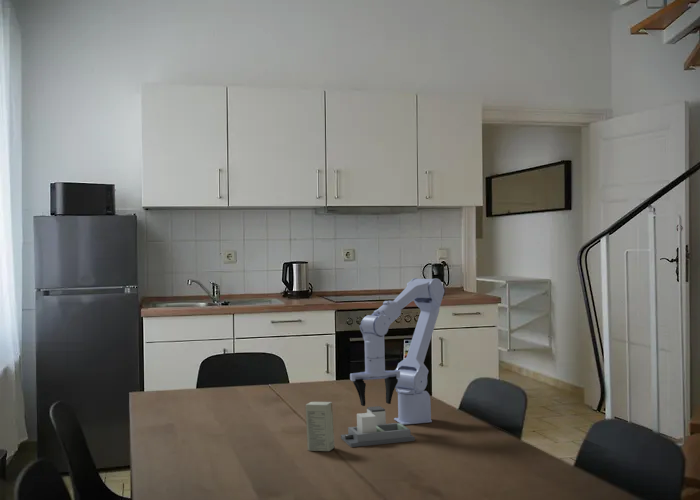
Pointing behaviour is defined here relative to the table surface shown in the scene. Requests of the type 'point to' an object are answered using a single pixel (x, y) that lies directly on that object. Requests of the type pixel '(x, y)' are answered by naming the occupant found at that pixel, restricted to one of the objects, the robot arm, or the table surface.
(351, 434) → the socket board
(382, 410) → the plug
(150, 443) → the table surface
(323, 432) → the skincare box
